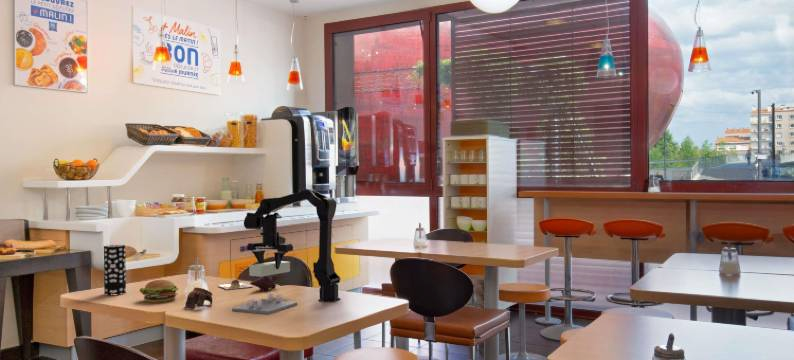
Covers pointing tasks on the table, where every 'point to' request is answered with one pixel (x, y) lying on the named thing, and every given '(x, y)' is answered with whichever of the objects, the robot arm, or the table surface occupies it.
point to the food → (159, 291)
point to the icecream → (265, 282)
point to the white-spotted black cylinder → (114, 269)
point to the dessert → (235, 285)
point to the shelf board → (268, 269)
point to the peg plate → (265, 305)
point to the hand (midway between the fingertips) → (270, 268)
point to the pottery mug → (198, 298)
